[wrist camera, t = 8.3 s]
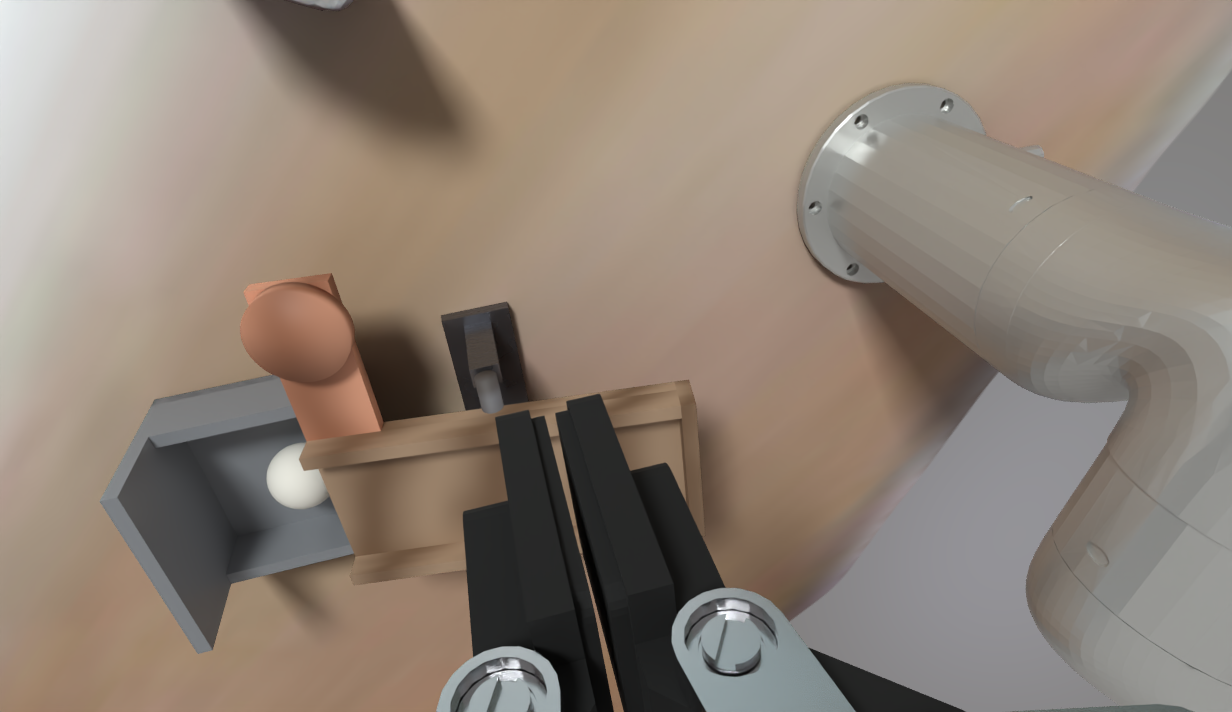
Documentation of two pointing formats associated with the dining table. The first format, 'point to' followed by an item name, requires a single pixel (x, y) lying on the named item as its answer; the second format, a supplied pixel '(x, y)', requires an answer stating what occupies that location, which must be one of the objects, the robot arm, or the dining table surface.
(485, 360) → the pivot stand
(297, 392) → the brown flat piece
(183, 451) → the cup
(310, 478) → the ball
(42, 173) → the dining table surface
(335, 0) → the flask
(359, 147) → the dining table surface
